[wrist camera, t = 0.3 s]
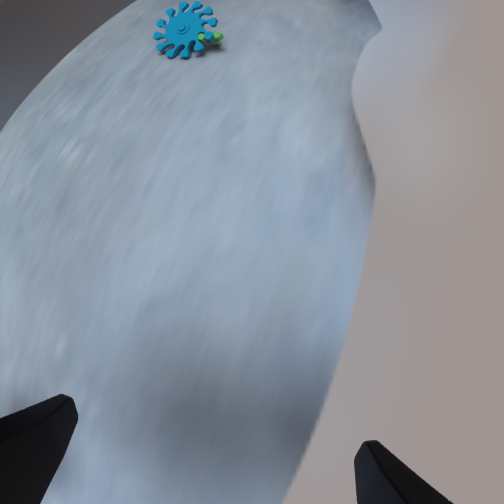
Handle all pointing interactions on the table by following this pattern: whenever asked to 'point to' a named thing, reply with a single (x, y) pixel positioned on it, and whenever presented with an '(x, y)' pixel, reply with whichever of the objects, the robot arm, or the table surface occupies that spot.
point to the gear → (187, 30)
